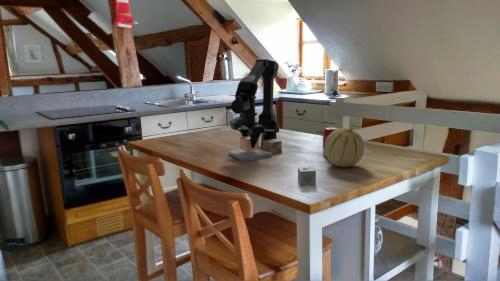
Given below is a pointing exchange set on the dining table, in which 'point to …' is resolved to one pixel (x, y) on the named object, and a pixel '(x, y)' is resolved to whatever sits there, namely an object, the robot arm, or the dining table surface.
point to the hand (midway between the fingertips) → (249, 146)
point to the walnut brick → (272, 145)
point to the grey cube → (306, 176)
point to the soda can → (325, 135)
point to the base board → (249, 154)
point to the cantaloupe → (344, 147)
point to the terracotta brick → (247, 144)
